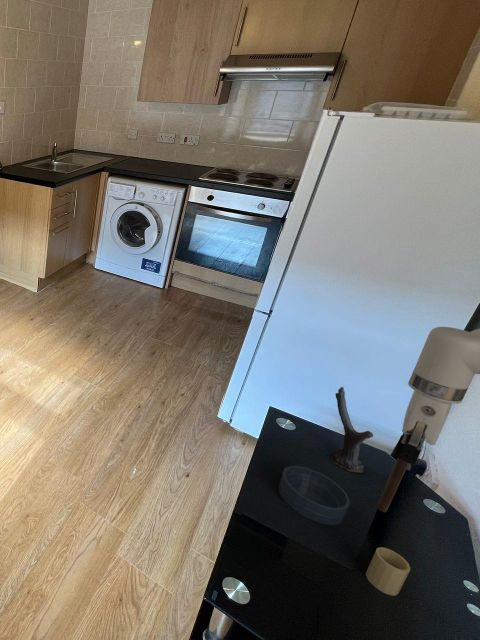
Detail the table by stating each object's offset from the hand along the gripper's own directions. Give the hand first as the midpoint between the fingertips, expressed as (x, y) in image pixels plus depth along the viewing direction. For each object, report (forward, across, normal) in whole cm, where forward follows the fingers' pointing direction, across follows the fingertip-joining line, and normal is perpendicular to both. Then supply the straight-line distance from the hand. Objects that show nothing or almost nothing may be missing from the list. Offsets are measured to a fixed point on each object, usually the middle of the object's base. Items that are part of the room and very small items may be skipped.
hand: (404, 456), depth 88 cm
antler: (+31, +37, +10) cm, 50 cm away
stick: (+15, 0, 0) cm, 15 cm away
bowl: (+31, +10, +12) cm, 35 cm away
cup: (+31, -4, -4) cm, 32 cm away
